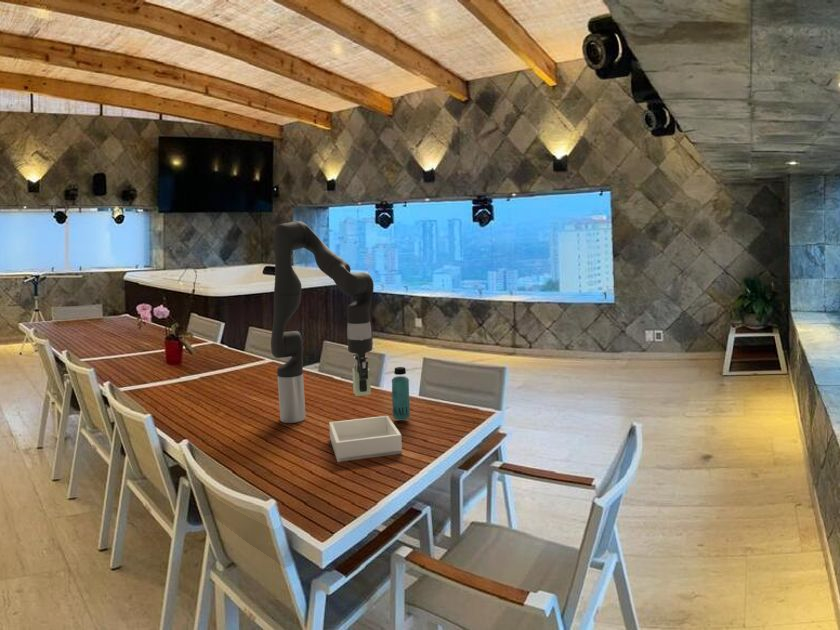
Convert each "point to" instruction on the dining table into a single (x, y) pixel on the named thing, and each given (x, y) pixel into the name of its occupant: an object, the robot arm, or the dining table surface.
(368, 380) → the green block
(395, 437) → the serving bin
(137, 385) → the dining table surface
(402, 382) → the beverage bottle
